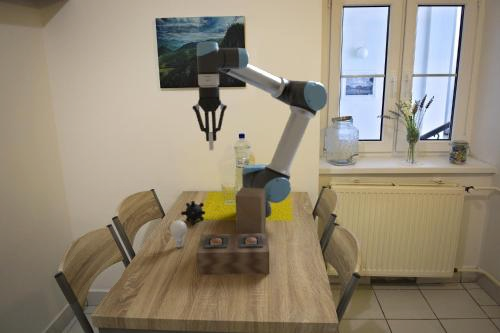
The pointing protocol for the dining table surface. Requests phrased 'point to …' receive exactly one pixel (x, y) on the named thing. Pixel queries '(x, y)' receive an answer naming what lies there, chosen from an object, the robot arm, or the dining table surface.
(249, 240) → the peg
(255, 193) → the wooden block
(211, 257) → the socket block
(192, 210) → the toy ball
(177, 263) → the dining table surface
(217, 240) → the peg
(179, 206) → the dining table surface
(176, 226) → the lightbulb
